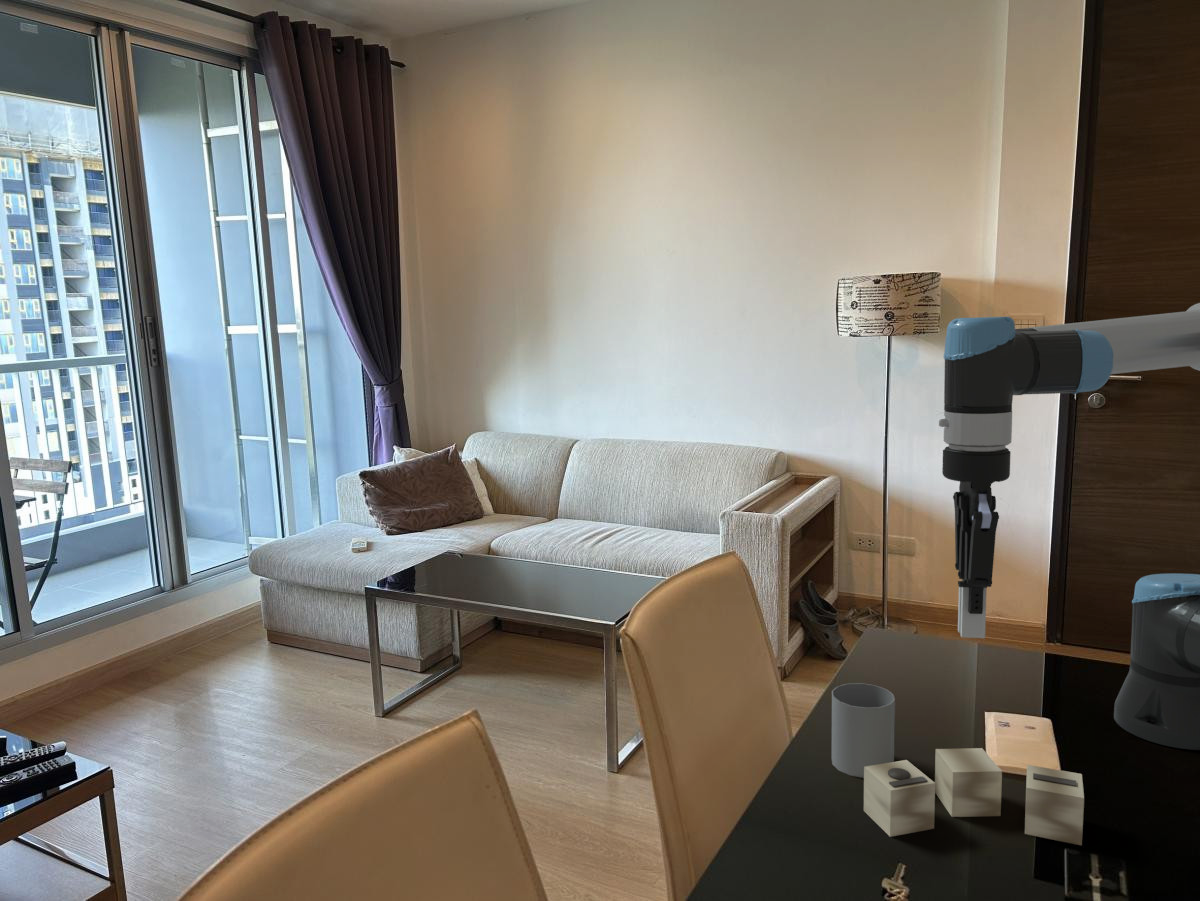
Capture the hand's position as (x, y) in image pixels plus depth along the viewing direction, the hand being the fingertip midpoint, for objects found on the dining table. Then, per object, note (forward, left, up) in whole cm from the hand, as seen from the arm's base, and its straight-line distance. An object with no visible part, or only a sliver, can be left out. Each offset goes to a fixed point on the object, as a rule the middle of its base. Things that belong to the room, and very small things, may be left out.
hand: (971, 634), depth 109 cm
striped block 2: (-9, +4, -23) cm, 25 cm away
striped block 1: (+9, +5, -23) cm, 25 cm away
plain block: (0, 0, -23) cm, 23 cm away
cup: (+12, -9, -23) cm, 27 cm away
